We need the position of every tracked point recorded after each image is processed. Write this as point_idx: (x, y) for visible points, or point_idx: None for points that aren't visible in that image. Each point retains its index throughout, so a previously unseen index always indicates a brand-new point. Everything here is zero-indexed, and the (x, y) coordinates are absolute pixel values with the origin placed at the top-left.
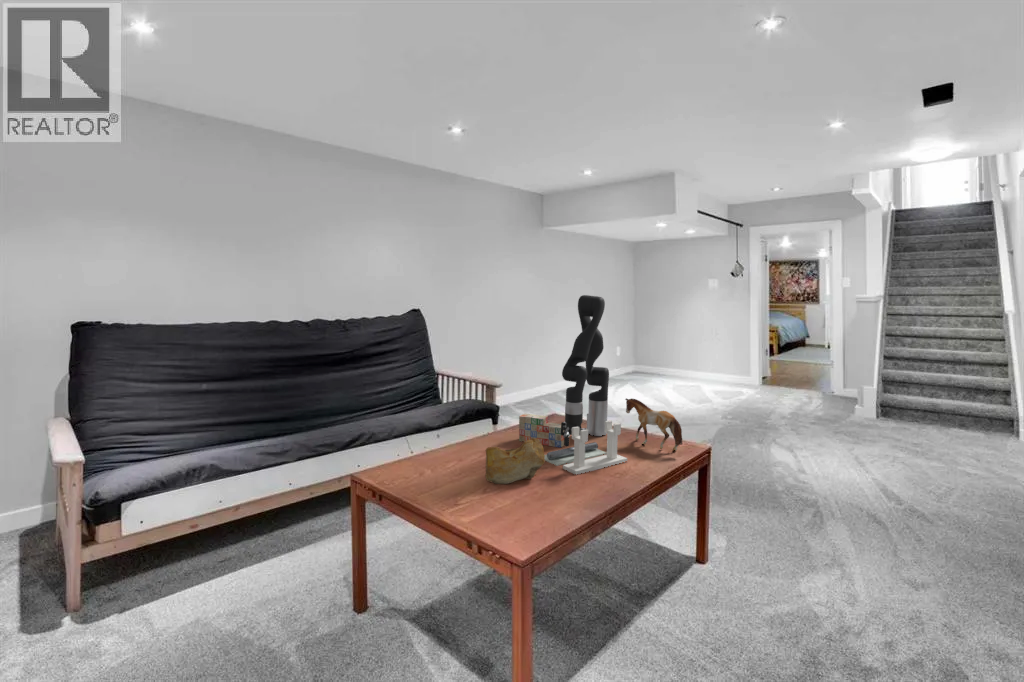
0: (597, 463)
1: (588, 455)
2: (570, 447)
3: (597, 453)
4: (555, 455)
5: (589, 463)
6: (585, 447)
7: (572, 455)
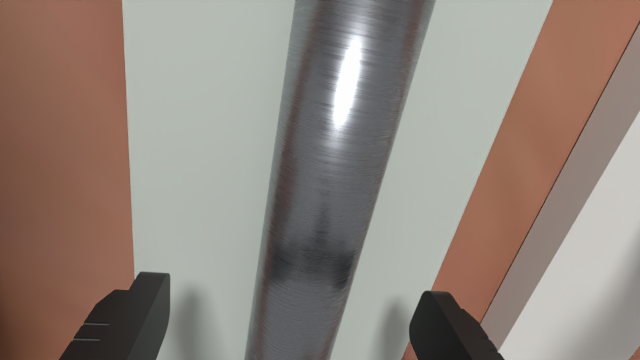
0: (634, 312)
1: (449, 163)
2: (285, 348)
3: (511, 4)
4: None
5: (574, 350)
6: (395, 134)
7: None
